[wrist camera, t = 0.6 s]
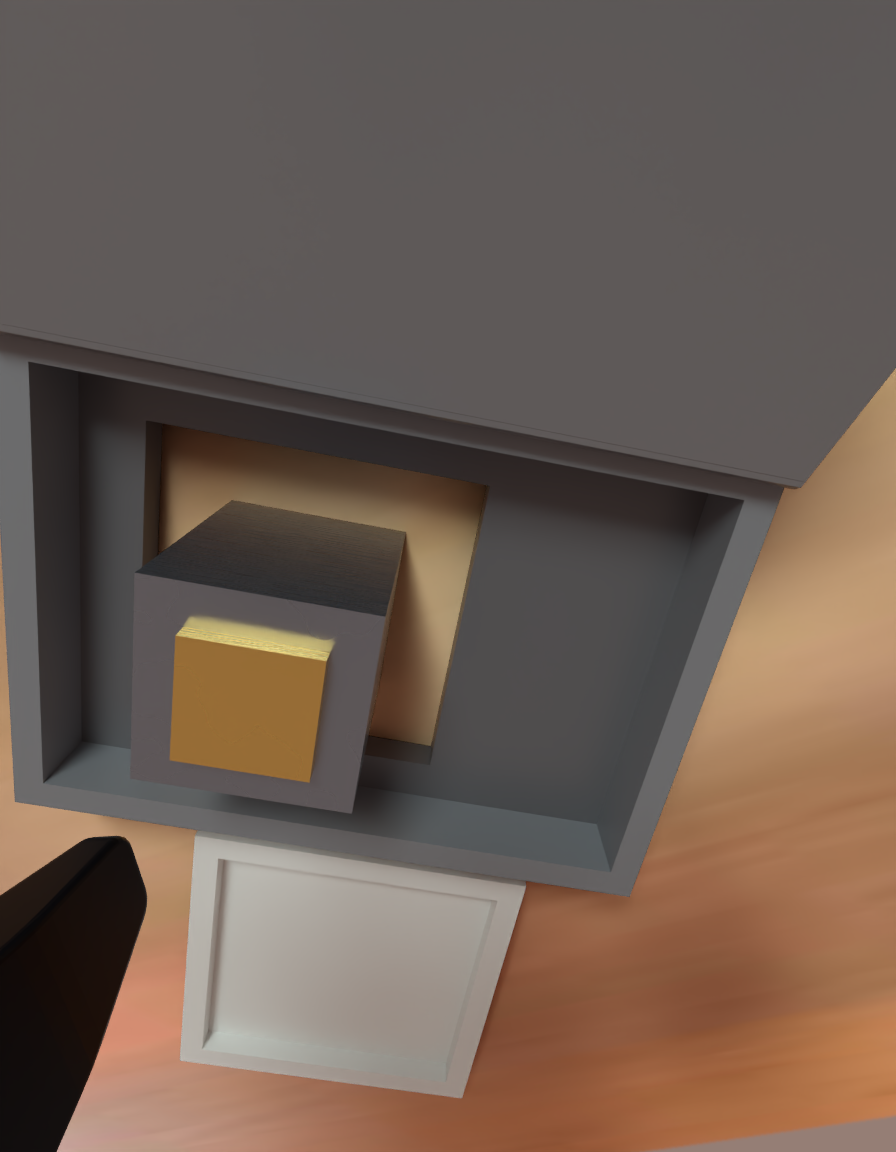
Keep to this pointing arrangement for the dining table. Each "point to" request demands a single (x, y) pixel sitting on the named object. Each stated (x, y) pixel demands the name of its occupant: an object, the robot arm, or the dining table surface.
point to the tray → (341, 964)
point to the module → (262, 655)
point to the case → (439, 359)
